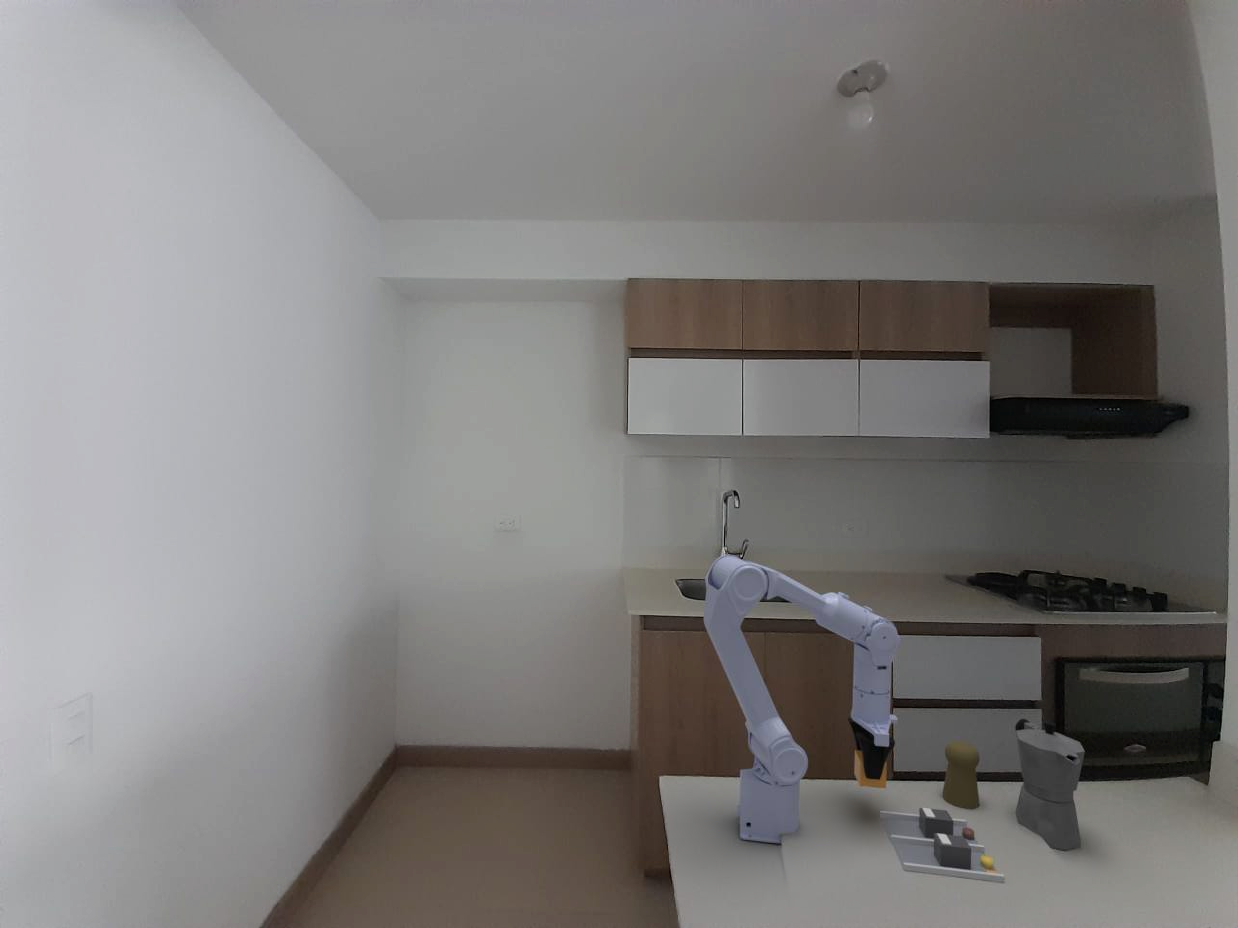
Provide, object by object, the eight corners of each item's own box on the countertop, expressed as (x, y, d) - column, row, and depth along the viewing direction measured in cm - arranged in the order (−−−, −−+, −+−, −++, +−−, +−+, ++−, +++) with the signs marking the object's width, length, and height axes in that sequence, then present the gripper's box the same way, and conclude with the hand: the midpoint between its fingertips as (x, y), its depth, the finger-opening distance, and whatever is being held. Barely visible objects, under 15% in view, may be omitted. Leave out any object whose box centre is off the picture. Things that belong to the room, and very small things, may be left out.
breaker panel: (903, 880, 89) (904, 862, 89) (879, 824, 103) (880, 809, 103) (1004, 893, 87) (1004, 874, 87) (965, 834, 101) (966, 818, 101)
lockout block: (859, 785, 102) (860, 760, 102) (854, 773, 106) (854, 749, 106) (885, 788, 101) (886, 763, 101) (879, 776, 105) (880, 752, 105)
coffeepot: (1106, 861, 95) (1109, 741, 95) (1040, 857, 95) (1044, 738, 95) (1043, 805, 110) (1046, 702, 110) (987, 802, 111) (990, 699, 111)
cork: (986, 820, 105) (988, 754, 105) (946, 815, 106) (948, 750, 106) (973, 801, 111) (975, 739, 111) (936, 797, 112) (937, 735, 112)
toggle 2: (940, 865, 90) (941, 843, 90) (933, 853, 93) (934, 831, 93) (970, 869, 89) (971, 847, 89) (962, 856, 92) (963, 835, 92)
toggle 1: (925, 837, 97) (925, 816, 97) (918, 826, 100) (919, 806, 100) (952, 840, 96) (953, 819, 96) (946, 829, 99) (946, 809, 99)
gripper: (911, 707, 96) (908, 796, 96) (885, 675, 110) (883, 753, 110) (862, 703, 97) (859, 791, 97) (843, 672, 111) (841, 749, 111)
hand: (869, 771), depth 103 cm, fingers closed on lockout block, 4 cm apart
